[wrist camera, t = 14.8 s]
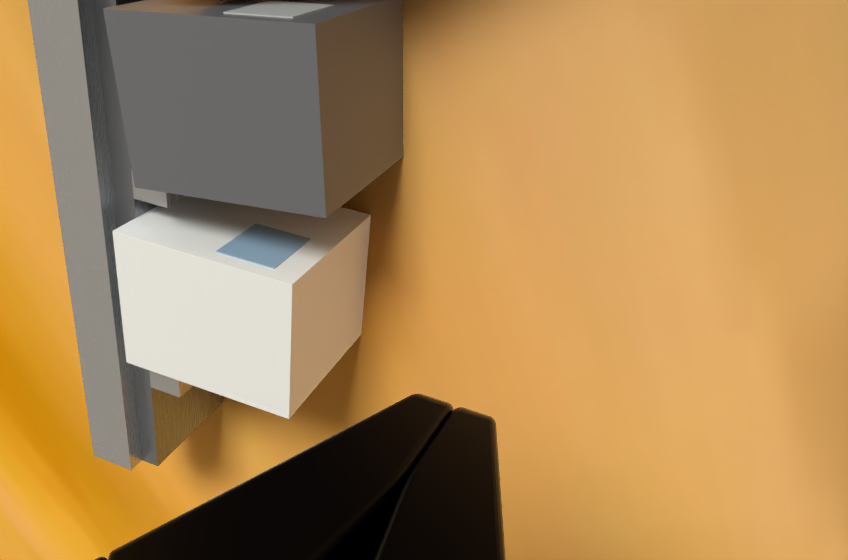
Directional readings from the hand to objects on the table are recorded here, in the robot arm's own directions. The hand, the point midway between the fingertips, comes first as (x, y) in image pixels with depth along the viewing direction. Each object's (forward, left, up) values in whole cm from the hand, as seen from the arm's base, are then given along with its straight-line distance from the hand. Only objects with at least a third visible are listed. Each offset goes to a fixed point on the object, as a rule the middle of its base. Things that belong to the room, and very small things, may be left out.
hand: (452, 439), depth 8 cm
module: (+8, +6, -12) cm, 16 cm away
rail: (+12, +5, -12) cm, 18 cm away
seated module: (+8, 0, -12) cm, 14 cm away
